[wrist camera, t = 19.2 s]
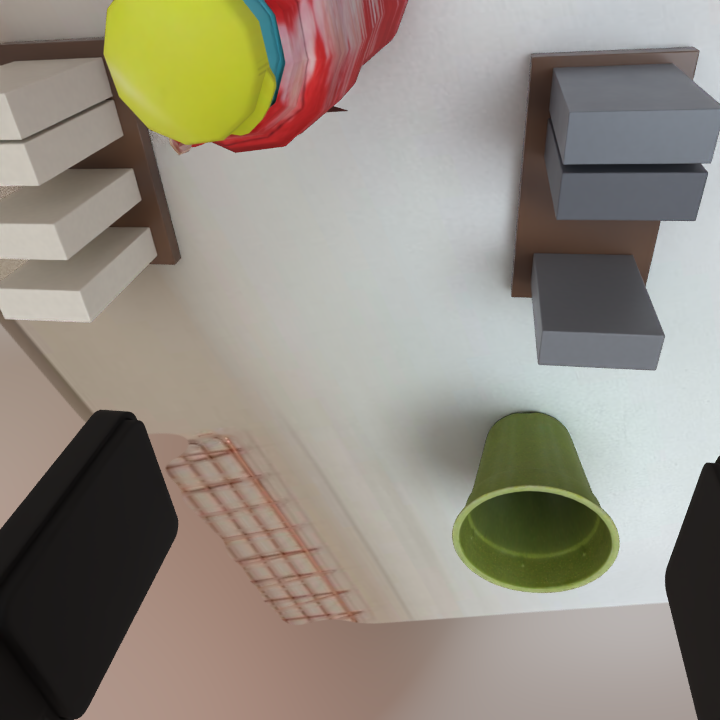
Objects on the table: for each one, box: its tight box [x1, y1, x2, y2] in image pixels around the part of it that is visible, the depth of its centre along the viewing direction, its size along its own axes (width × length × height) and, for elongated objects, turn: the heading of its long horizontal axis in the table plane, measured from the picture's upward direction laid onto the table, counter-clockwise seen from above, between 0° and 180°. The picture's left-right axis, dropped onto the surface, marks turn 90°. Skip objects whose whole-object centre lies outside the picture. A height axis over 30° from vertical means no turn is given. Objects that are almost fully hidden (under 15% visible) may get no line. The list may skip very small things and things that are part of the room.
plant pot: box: [452, 412, 619, 593], centre depth 50 cm, size 12×12×11 cm
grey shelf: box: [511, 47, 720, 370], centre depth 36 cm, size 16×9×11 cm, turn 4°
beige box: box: [0, 168, 141, 260], centre depth 42 cm, size 2×6×10 cm, turn 94°
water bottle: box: [103, 0, 408, 155], centre depth 27 cm, size 12×8×25 cm, turn 145°
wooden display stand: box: [0, 37, 181, 323], centre depth 41 cm, size 16×9×11 cm, turn 4°
